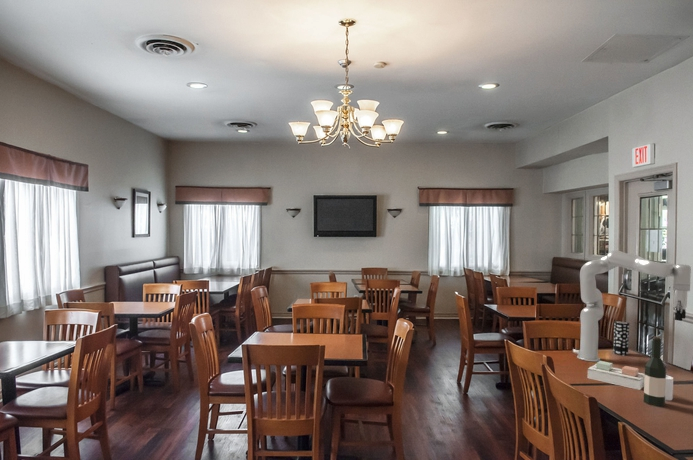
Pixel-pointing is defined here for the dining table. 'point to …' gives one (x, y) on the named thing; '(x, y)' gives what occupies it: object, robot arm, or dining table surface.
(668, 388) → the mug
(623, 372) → the terracotta key
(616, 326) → the spotted tube
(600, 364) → the sage key
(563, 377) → the dining table surface
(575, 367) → the dining table surface
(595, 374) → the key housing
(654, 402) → the wine bottle
